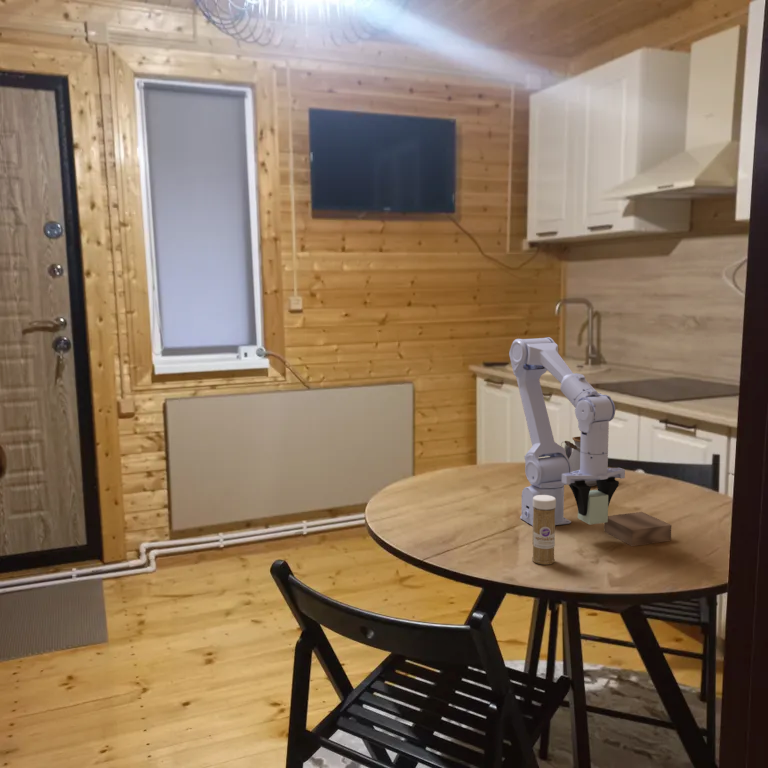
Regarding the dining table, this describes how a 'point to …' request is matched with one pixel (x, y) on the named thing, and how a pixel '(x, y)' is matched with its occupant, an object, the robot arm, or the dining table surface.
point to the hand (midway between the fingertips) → (592, 512)
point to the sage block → (596, 508)
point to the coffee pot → (577, 457)
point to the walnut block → (638, 528)
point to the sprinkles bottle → (543, 529)
